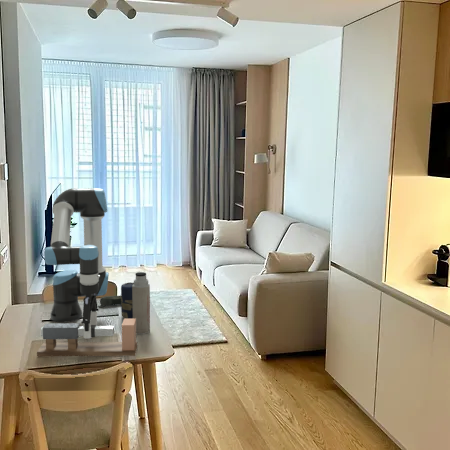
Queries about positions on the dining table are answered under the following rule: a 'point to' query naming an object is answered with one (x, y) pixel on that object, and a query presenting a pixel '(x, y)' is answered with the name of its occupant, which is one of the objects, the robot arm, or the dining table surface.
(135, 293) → the thermos bottle
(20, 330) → the dining table surface
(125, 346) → the terracotta socket block
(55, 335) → the charcoal sleeve
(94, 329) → the telescoping tube
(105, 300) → the dark green bar
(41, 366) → the dining table surface
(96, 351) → the walnut base board
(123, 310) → the canister
